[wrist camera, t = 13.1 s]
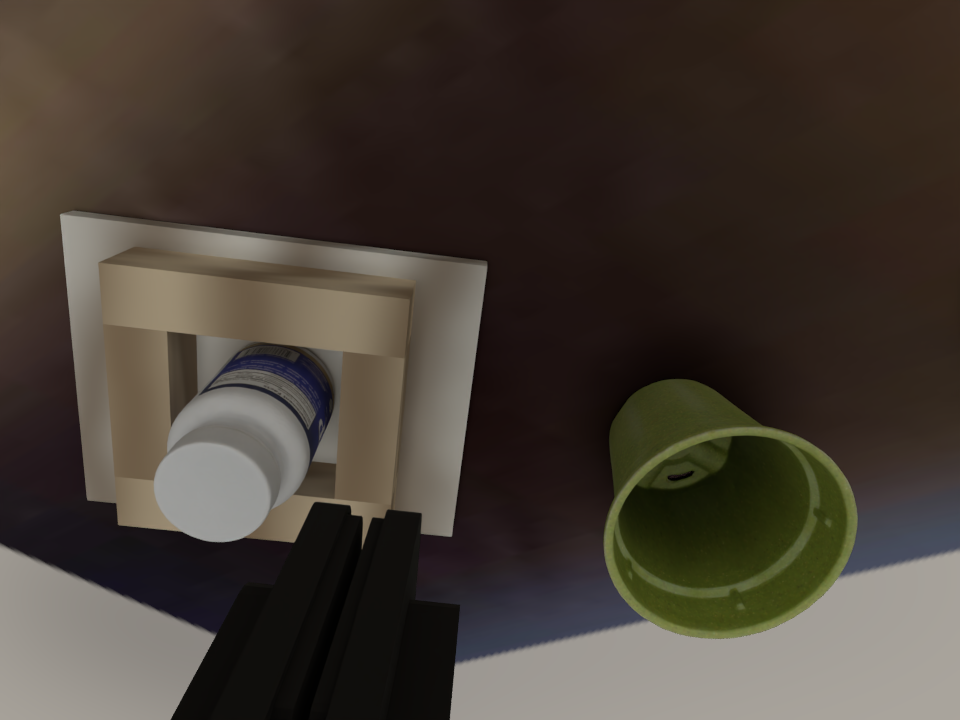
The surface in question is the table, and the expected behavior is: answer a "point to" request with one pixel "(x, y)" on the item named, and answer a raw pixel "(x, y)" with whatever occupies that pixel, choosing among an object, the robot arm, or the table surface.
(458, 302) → the frame
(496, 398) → the table surface
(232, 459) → the pill bottle
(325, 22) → the table surface
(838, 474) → the plant pot
